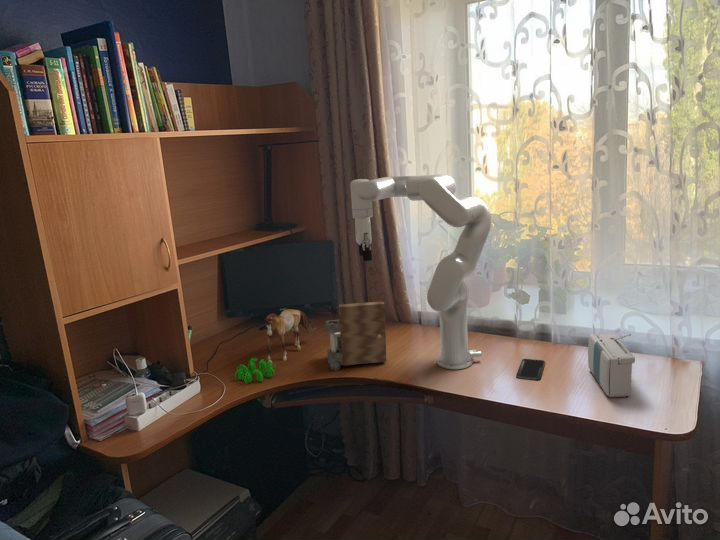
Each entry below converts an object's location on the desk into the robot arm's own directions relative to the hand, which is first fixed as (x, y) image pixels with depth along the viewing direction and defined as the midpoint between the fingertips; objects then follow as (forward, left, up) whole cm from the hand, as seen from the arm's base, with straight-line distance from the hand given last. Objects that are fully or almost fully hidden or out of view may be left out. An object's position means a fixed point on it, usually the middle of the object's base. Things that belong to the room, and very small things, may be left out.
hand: (365, 257), depth 218 cm
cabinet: (+8, +12, -36) cm, 39 cm away
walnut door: (+7, +17, -35) cm, 39 cm away
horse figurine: (+30, -1, -36) cm, 47 cm away
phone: (-50, +36, -37) cm, 72 cm away
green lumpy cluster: (+44, +15, -37) cm, 59 cm away
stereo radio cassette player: (-69, +52, -36) cm, 94 cm away
